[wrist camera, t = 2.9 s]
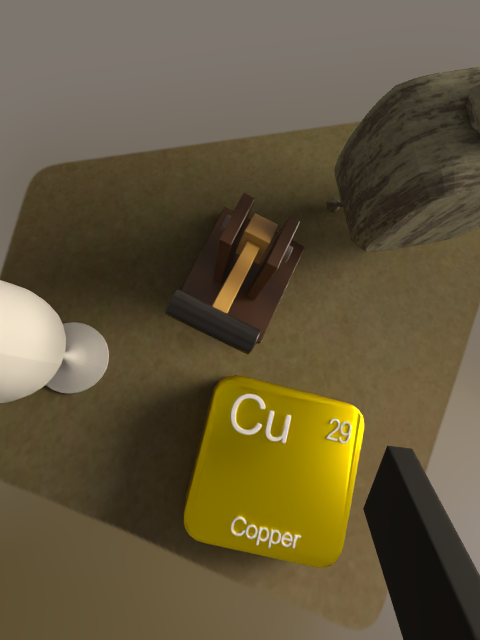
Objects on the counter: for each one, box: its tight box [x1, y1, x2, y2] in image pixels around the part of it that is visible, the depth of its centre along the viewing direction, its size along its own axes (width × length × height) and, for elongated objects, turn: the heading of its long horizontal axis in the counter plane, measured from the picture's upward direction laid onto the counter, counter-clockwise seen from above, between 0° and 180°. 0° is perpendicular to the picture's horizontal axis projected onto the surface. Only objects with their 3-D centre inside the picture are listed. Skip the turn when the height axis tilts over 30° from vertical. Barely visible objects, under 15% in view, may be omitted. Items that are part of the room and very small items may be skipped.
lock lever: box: [165, 213, 278, 354], centre depth 27 cm, size 12×6×2 cm, turn 155°
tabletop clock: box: [327, 67, 480, 252], centre depth 32 cm, size 14×9×25 cm, turn 102°
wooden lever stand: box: [181, 193, 305, 344], centre depth 35 cm, size 12×10×13 cm
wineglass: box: [0, 280, 109, 403], centre depth 28 cm, size 8×8×21 cm
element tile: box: [184, 375, 364, 568], centre depth 36 cm, size 15×15×5 cm
